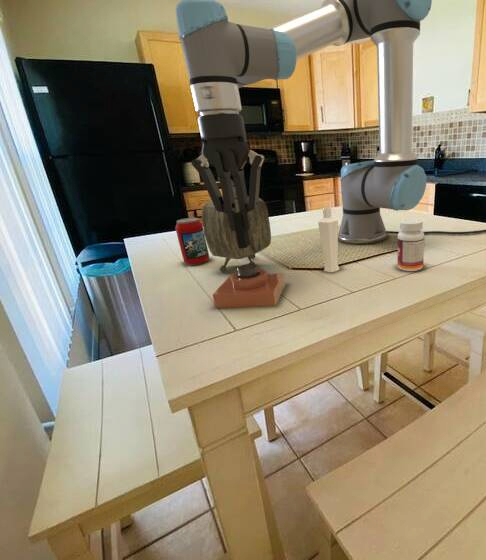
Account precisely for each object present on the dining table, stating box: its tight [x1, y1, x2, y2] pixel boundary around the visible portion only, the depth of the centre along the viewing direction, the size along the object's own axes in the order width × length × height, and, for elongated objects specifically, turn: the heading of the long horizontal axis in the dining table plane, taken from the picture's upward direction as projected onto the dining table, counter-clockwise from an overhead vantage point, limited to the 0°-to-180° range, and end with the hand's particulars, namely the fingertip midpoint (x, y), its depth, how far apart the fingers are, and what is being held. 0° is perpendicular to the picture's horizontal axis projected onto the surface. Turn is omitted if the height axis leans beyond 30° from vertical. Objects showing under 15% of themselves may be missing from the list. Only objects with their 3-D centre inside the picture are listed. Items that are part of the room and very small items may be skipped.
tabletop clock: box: [201, 176, 272, 273], centre depth 84 cm, size 14×9×25 cm, turn 152°
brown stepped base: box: [212, 267, 286, 309], centre depth 70 cm, size 12×10×5 cm
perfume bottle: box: [317, 207, 340, 273], centre depth 80 cm, size 5×4×15 cm
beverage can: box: [175, 217, 210, 266], centre depth 93 cm, size 7×7×12 cm
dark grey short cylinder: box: [236, 263, 259, 278], centre depth 69 cm, size 4×4×2 cm
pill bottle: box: [397, 218, 425, 272], centre depth 79 cm, size 6×6×11 cm
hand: (244, 246), depth 67 cm, fingers closed
